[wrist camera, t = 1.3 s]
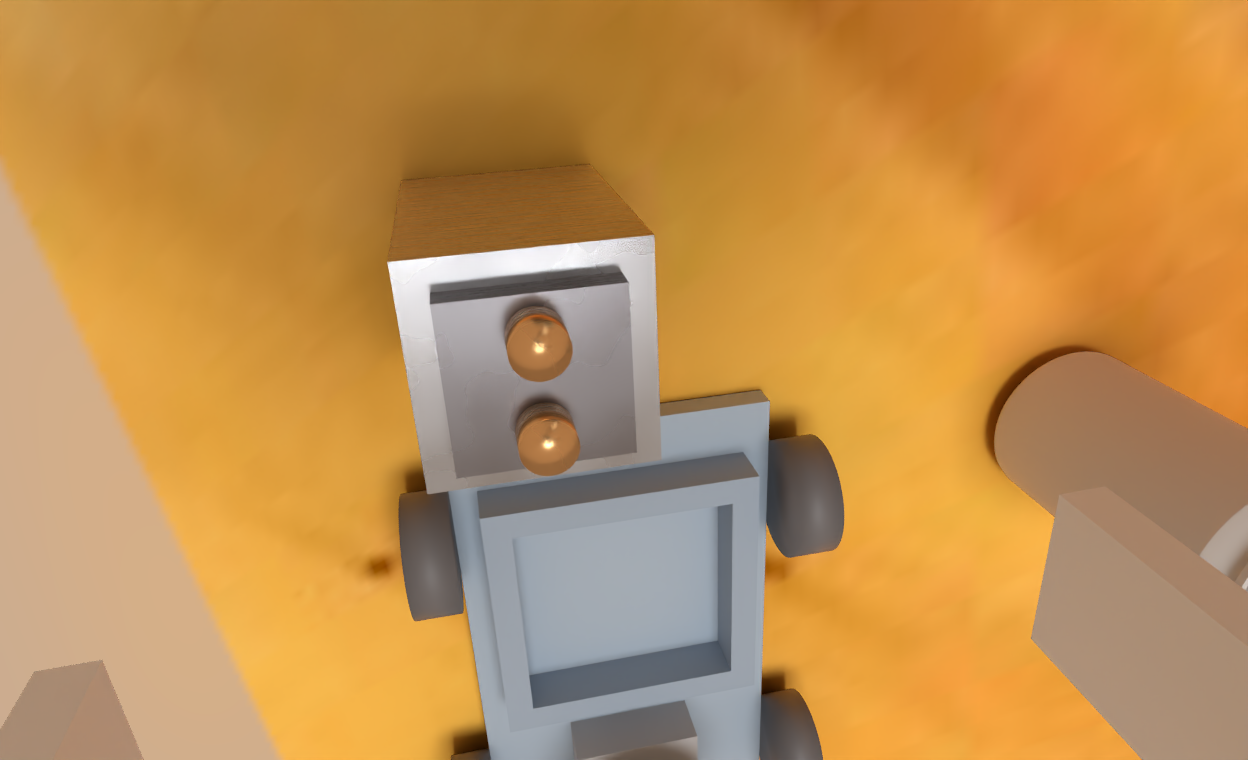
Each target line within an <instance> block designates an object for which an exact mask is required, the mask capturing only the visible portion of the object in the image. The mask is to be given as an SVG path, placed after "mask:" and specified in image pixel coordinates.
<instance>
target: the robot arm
mask: <svg viewBox="0 0 1248 760" xmlns="http://www.w3.org/2000/svg"><path fill="white" fill-rule="evenodd" d="M1031 639H1032V640H1033V641H1034V642H1035V643H1036V645H1037V646H1038V647H1039V648H1040V649H1041V650H1042V651H1043V652H1044V653H1045V654H1046V655H1047V657H1048V658H1049V659H1050V660H1051V661H1052V662H1053V663H1054V664H1055V665H1056V666H1057V667H1058V668H1059V670H1060V671H1061V672H1062V673H1063V674H1064V675H1065V676H1066V677H1067V678H1068V679H1069V680H1070V682H1071V683H1072V684H1073V685H1074V686H1075V687H1076V688H1077V689H1078V690H1079V691H1080V692H1081V694H1082V695H1083V696H1084V697H1085V698H1086V699H1087V700H1088V701H1089V702H1090V703H1091V704H1092V705H1093V707H1094V708H1095V709H1096V710H1097V711H1098V712H1099V713H1100V714H1101V715H1102V716H1103V717H1104V719H1105V720H1106V721H1107V722H1108V723H1109V724H1110V725H1111V726H1112V727H1113V728H1114V729H1115V731H1116V732H1117V733H1118V734H1119V735H1120V736H1121V737H1122V738H1123V739H1124V740H1125V741H1126V742H1127V744H1128V745H1129V746H1130V747H1131V748H1132V749H1133V750H1134V751H1135V752H1136V753H1137V754H1138V756H1139V757H1140V758H1141V759H1142V760H1248V592H1247V591H1246V590H1245V589H1243V588H1242V587H1241V586H1239V585H1238V584H1236V583H1235V582H1234V581H1232V580H1231V579H1230V578H1228V577H1227V576H1226V575H1224V574H1223V573H1222V572H1220V571H1219V570H1218V569H1216V568H1215V567H1214V566H1212V565H1211V564H1209V563H1208V562H1207V561H1205V560H1204V559H1203V558H1201V557H1200V556H1199V555H1197V554H1196V553H1195V552H1193V551H1192V550H1191V549H1189V548H1188V547H1187V546H1185V545H1184V544H1183V543H1181V542H1180V541H1178V540H1177V539H1176V538H1174V537H1173V536H1172V535H1170V534H1169V533H1168V532H1166V531H1165V530H1164V529H1162V528H1161V527H1160V526H1158V525H1157V524H1156V523H1154V522H1153V521H1151V520H1150V519H1149V518H1147V517H1146V516H1145V515H1143V514H1142V513H1141V512H1139V511H1138V510H1137V509H1135V508H1134V507H1133V506H1131V505H1130V504H1129V503H1127V502H1126V501H1124V500H1123V499H1122V498H1120V497H1119V496H1118V495H1116V494H1115V493H1114V492H1112V491H1111V490H1110V489H1108V488H1107V487H1106V486H1105V487H1099V488H1093V489H1088V490H1082V491H1076V492H1070V493H1065V494H1059V499H1058V504H1057V509H1056V514H1055V519H1054V524H1053V529H1052V534H1051V539H1050V544H1049V550H1048V555H1047V560H1046V565H1045V570H1044V575H1043V580H1042V585H1041V590H1040V595H1039V600H1038V605H1037V610H1036V616H1035V621H1034V626H1033V631H1032V636H1031ZM0 760H144V759H143V757H142V754H141V752H140V750H139V747H138V745H137V743H136V740H135V738H134V735H133V733H132V730H131V728H130V726H129V723H128V721H127V719H126V716H125V714H124V711H123V709H122V707H121V704H120V702H119V699H118V697H117V695H116V692H115V690H114V687H113V685H112V683H111V680H110V678H109V675H108V673H107V671H106V668H105V666H104V664H103V661H102V660H99V661H94V662H87V663H82V664H76V665H70V666H64V667H59V668H53V669H47V670H41V671H36V672H34V673H33V675H32V676H31V678H30V680H29V682H28V683H27V685H26V687H25V689H24V690H23V692H22V694H21V696H20V697H19V699H18V700H17V702H16V704H15V706H14V707H13V709H12V711H11V713H10V714H9V716H8V718H7V720H6V721H5V723H4V724H3V726H2V728H1V729H0Z"/></svg>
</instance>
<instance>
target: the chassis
mask: <svg viewBox="0 0 1248 760" xmlns="http://www.w3.org/2000/svg"><path fill="white" fill-rule="evenodd" d="M769 410H770V401H769V400H768V399H767V397H766V396H765V395H764V394H763V392H762V391H761V390H756V391H749V392H742V393H734V394H727V395H720V396H712V397H705V398H697V399H690V400H683V401H675V402H668V403H661V404H660V426H661V457H662V460H658V461H652V462H645V463H638V464H631V465H624V466H618V467H611V468H604V469H597V470H590V471H583V472H577V473H570V474H563V475H556V476H549V477H542V478H536V479H529V480H522V481H515V482H508V483H502V484H495V485H488V486H481V487H474V488H467V489H461V490H454V491H447V492H440V493H433V494H427V490H425V491H418V492H411V493H404V494H401V495H400V498H399V535H400V548H401V558H402V566H403V574H404V581H405V587H406V593H407V598H408V603H409V607H410V611H411V614H412V617H413V619H414V621H421V620H426V619H432V618H438V617H444V616H450V615H456V614H462V613H463V588H462V580H463V587H464V593H465V599H466V606H467V612H468V618H469V624H470V631H471V637H472V643H473V650H474V656H475V662H476V668H477V675H478V681H479V687H480V694H481V700H482V706H483V712H484V719H485V725H486V731H487V738H488V744H489V748H488V749H483V750H477V751H472V752H467V753H462V754H457V755H452V756H451V760H759V756H760V760H823V756H822V750H821V746H820V741H819V737H818V734H817V730H816V727H815V724H814V721H813V718H812V716H811V713H810V711H809V709H808V707H807V705H806V703H805V701H804V699H803V698H802V696H801V695H800V694H799V692H798V691H796V690H795V689H787V690H782V691H777V692H772V693H767V694H762V695H761V682H762V648H763V614H764V580H765V546H766V522H767V525H768V528H769V531H770V534H771V536H772V538H773V540H774V542H775V544H776V546H777V547H778V549H779V550H780V551H781V553H782V554H783V555H785V556H786V557H790V558H791V557H796V556H802V555H808V554H814V553H820V552H826V551H831V550H834V549H836V548H837V546H838V545H839V543H840V541H841V538H842V534H843V528H844V504H843V496H842V490H841V485H840V481H839V477H838V473H837V470H836V467H835V464H834V462H833V460H832V457H831V455H830V453H829V451H828V449H827V448H826V446H825V445H824V443H823V442H822V441H821V440H820V439H819V438H818V437H816V436H815V435H811V434H809V435H802V436H795V437H788V438H781V439H774V440H769ZM461 574H462V576H461Z"/></svg>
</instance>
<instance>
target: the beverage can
mask: <svg viewBox="0 0 1248 760" xmlns="http://www.w3.org/2000/svg"><path fill="white" fill-rule="evenodd" d="M994 450H995V455H996V459H997V462H998V464H999V466H1000V467H1001V469H1002V470H1003V472H1004V473H1005V475H1006V476H1007V477H1008V478H1009V479H1010V480H1011V481H1012V482H1014V483H1015V484H1016V485H1017V486H1018V487H1019V488H1021V489H1022V490H1023V491H1024V492H1025V493H1027V494H1028V495H1029V496H1030V497H1031V498H1033V499H1034V500H1035V501H1036V502H1037V503H1039V504H1040V505H1041V506H1042V507H1043V508H1045V509H1046V510H1047V511H1048V512H1049V513H1051V514H1052V515H1053V516H1054V517H1055V514H1056V509H1057V504H1058V499H1059V494H1065V493H1070V492H1076V491H1082V490H1088V489H1093V488H1099V487H1105V486H1106V487H1107V488H1108V489H1110V490H1111V491H1112V492H1114V493H1115V494H1116V495H1118V496H1119V497H1120V498H1122V499H1123V500H1124V501H1126V502H1127V503H1129V504H1130V505H1131V506H1133V507H1134V508H1135V509H1137V510H1138V511H1139V512H1141V513H1142V514H1143V515H1145V516H1146V517H1147V518H1149V519H1150V520H1151V521H1153V522H1154V523H1156V524H1157V525H1158V526H1160V527H1161V528H1162V529H1164V530H1165V531H1166V532H1168V533H1169V534H1170V535H1172V536H1173V537H1174V538H1176V539H1177V540H1178V541H1180V542H1181V543H1183V544H1184V545H1185V546H1187V547H1188V548H1189V549H1191V550H1192V551H1193V552H1195V553H1196V554H1197V555H1199V556H1200V557H1201V558H1203V559H1204V560H1205V561H1207V562H1208V563H1209V564H1211V565H1212V566H1214V567H1215V568H1216V569H1218V570H1219V571H1220V572H1222V573H1223V574H1224V575H1226V576H1227V577H1228V578H1230V579H1231V580H1232V581H1234V582H1235V583H1236V584H1238V585H1239V586H1241V587H1242V588H1243V589H1245V590H1246V591H1247V592H1248V429H1247V428H1245V427H1243V426H1241V425H1239V424H1238V423H1236V422H1234V421H1232V420H1230V419H1228V418H1226V417H1224V416H1223V415H1221V414H1219V413H1217V412H1215V411H1213V410H1211V409H1209V408H1207V407H1206V406H1204V405H1202V404H1200V403H1198V402H1196V401H1194V400H1192V399H1191V398H1189V397H1187V396H1185V395H1183V394H1181V393H1179V392H1177V391H1175V390H1174V389H1172V388H1170V387H1168V386H1166V385H1164V384H1162V383H1160V382H1159V381H1157V380H1155V379H1153V378H1151V377H1149V376H1147V375H1145V374H1144V373H1142V372H1140V371H1138V370H1136V369H1134V368H1132V367H1130V366H1128V365H1127V364H1125V363H1123V362H1121V361H1119V360H1117V359H1115V358H1113V357H1111V356H1109V355H1106V354H1103V353H1099V352H1089V351H1083V352H1075V353H1070V354H1067V355H1063V356H1060V357H1058V358H1056V359H1053V360H1051V361H1049V362H1047V363H1045V364H1044V365H1042V366H1041V367H1039V368H1038V369H1036V370H1035V371H1033V372H1032V373H1031V374H1030V375H1028V376H1027V377H1026V378H1025V379H1024V380H1023V381H1022V382H1021V383H1020V384H1019V385H1018V386H1017V388H1016V389H1015V390H1014V391H1013V393H1012V394H1011V395H1010V397H1009V398H1008V400H1007V401H1006V403H1005V405H1004V407H1003V409H1002V411H1001V413H1000V415H999V418H998V421H997V425H996V429H995V435H994Z"/></svg>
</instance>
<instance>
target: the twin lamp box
mask: <svg viewBox="0 0 1248 760" xmlns="http://www.w3.org/2000/svg"><path fill="white" fill-rule="evenodd" d="M388 268H389V274H390V280H391V286H392V292H393V297H394V303H395V309H396V315H397V321H398V327H399V332H400V338H401V344H402V350H403V356H404V361H405V367H406V373H407V379H408V385H409V391H410V396H411V402H412V408H413V414H414V420H415V425H416V431H417V437H418V443H419V449H420V455H421V460H422V466H423V472H424V478H425V484H426V489H427V494H433V493H440V492H447V491H454V490H461V489H467V488H474V487H481V486H488V485H495V484H502V483H508V482H515V481H522V480H529V479H536V478H542V477H549V476H556V475H563V474H570V473H577V472H583V471H590V470H597V469H604V468H611V467H618V466H624V465H631V464H638V463H645V462H652V461H658V460H662V457H661V426H660V395H659V364H658V334H657V303H656V272H655V241H654V234H653V233H652V232H651V231H650V230H649V229H648V227H647V226H646V225H645V224H644V223H643V222H642V221H641V220H640V219H639V217H638V216H637V215H636V214H635V213H634V212H633V211H632V210H631V209H630V208H629V206H628V205H627V204H626V203H625V202H624V201H623V200H622V199H621V198H620V197H619V195H618V194H617V193H616V192H615V191H614V190H613V189H612V188H611V187H610V186H609V184H608V183H607V182H606V181H605V180H604V179H603V178H602V177H601V176H600V175H599V173H598V172H597V171H596V170H595V169H594V168H593V167H592V166H591V165H590V164H583V165H572V166H560V167H549V168H537V169H526V170H514V171H503V172H491V173H480V174H468V175H457V176H445V177H434V178H422V179H411V180H401V184H400V190H399V196H398V202H397V208H396V214H395V220H394V226H393V232H392V238H391V244H390V250H389V256H388Z"/></svg>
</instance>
